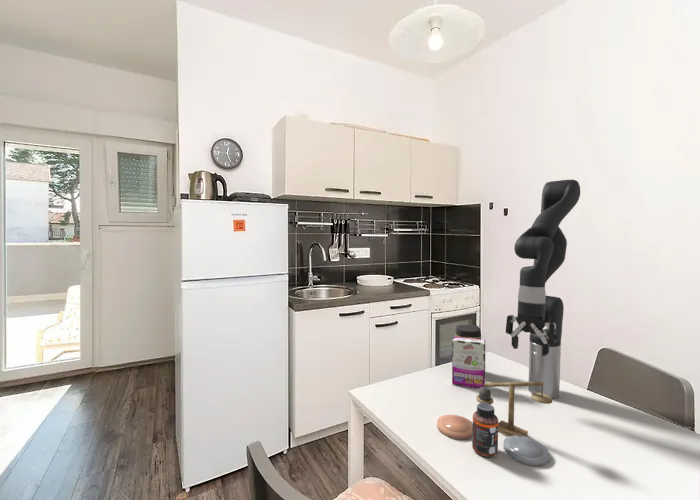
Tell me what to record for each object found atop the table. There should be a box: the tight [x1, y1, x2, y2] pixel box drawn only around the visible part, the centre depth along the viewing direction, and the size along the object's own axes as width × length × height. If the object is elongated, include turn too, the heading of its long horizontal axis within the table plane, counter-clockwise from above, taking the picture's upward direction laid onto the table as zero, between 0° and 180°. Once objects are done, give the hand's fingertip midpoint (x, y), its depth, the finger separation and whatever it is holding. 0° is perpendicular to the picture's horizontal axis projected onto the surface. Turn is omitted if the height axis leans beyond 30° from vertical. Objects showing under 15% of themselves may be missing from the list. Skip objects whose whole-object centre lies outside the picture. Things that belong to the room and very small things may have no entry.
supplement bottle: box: [471, 402, 499, 458], centre depth 84 cm, size 6×6×11 cm
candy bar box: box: [451, 336, 486, 390], centre depth 121 cm, size 11×5×16 cm, turn 68°
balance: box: [475, 381, 554, 437], centre depth 91 cm, size 5×20×17 cm, turn 41°
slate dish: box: [503, 436, 550, 467], centre depth 83 cm, size 10×10×1 cm
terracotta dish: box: [436, 414, 473, 440], centre depth 94 cm, size 10×10×1 cm
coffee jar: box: [454, 324, 482, 340], centre depth 132 cm, size 10×8×19 cm
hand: (529, 351), depth 105 cm, fingers open, 8 cm apart
